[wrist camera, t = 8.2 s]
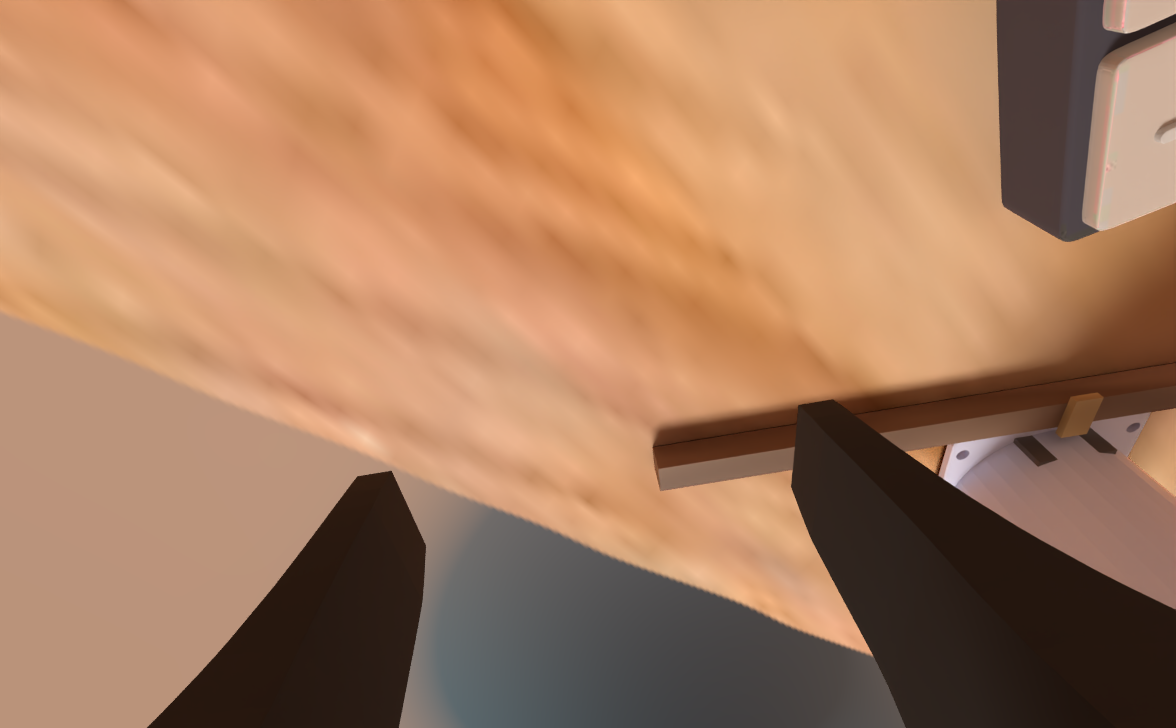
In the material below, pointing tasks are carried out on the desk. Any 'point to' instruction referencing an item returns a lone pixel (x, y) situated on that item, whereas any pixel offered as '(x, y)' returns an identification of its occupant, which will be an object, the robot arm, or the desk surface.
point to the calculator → (1086, 111)
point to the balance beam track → (940, 425)
